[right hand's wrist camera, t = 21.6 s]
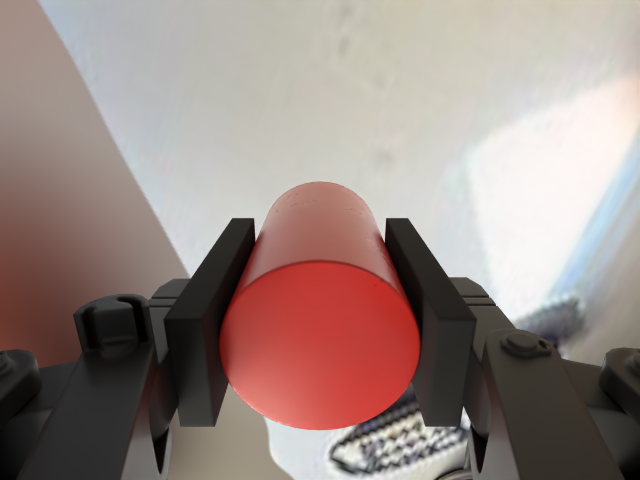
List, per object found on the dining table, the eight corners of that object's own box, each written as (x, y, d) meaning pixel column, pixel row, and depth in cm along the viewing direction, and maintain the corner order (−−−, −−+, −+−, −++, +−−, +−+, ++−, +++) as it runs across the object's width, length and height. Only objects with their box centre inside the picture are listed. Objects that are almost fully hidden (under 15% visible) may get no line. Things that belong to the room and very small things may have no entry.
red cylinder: (290, 302, 17) (270, 452, 10) (244, 207, 16) (180, 304, 9) (391, 265, 17) (445, 398, 9) (353, 163, 15) (382, 228, 8)
